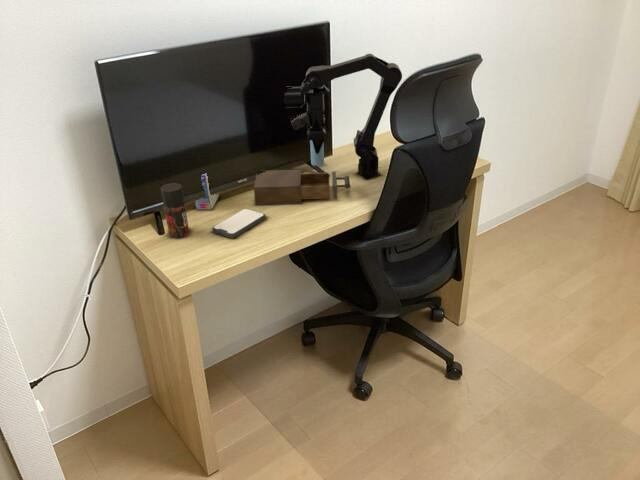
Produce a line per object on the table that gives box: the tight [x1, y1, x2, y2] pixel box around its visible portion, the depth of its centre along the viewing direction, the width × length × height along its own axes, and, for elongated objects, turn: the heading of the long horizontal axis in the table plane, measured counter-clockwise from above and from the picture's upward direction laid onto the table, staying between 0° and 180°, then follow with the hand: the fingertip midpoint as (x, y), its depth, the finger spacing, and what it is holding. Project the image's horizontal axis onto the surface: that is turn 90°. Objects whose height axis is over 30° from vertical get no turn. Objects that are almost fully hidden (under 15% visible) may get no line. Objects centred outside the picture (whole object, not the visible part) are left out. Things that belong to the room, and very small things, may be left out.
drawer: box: [301, 170, 351, 200], centre depth 191 cm, size 18×12×5 cm
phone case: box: [211, 208, 266, 239], centre depth 175 cm, size 9×2×16 cm
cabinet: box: [253, 169, 302, 206], centre depth 191 cm, size 15×13×6 cm
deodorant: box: [160, 182, 190, 239], centre depth 168 cm, size 6×6×15 cm
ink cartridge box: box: [194, 173, 220, 211], centre depth 185 cm, size 10×6×14 cm, turn 174°
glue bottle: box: [309, 140, 325, 167], centre depth 200 cm, size 5×5×12 cm
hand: (317, 150), depth 200 cm, fingers closed on glue bottle, 4 cm apart
